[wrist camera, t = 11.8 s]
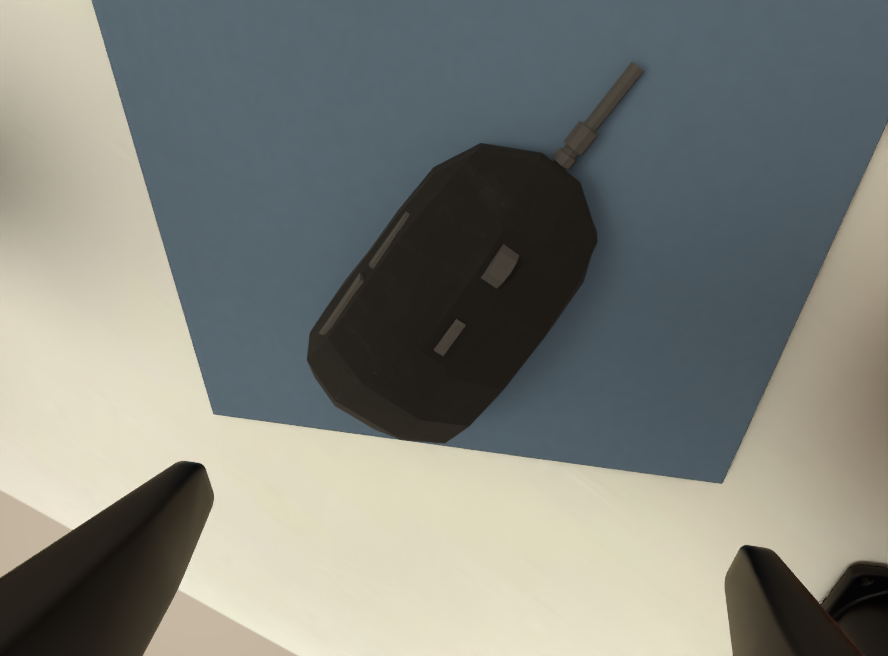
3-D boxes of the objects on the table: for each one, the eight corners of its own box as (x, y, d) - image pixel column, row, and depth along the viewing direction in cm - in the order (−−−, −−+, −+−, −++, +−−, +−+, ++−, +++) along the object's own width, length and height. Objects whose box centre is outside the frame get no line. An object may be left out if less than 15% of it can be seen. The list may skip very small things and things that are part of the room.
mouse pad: (719, 476, 21) (722, 484, 21) (217, 408, 24) (213, 414, 24) (984, -114, 11) (996, -116, 11) (66, -120, 14) (55, -121, 14)
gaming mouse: (727, 140, 14) (779, 193, 11) (427, 439, 22) (406, 522, 19) (538, -19, 13) (533, -11, 10) (292, 358, 21) (244, 432, 18)
